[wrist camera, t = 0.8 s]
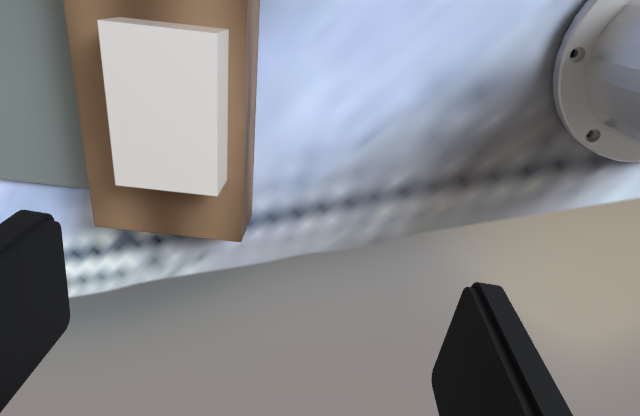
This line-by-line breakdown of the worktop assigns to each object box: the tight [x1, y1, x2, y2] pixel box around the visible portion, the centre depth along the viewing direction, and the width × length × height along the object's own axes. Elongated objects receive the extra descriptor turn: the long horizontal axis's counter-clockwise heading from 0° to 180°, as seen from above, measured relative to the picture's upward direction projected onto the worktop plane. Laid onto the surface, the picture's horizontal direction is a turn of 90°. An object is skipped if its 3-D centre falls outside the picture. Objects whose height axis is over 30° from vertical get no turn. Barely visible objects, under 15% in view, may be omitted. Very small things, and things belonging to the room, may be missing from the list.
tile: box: [97, 17, 229, 196], centre depth 25 cm, size 6×9×2 cm, turn 174°
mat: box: [0, 0, 90, 189], centre depth 30 cm, size 12×16×1 cm
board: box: [63, 0, 260, 242], centre depth 28 cm, size 10×18×4 cm, turn 174°
